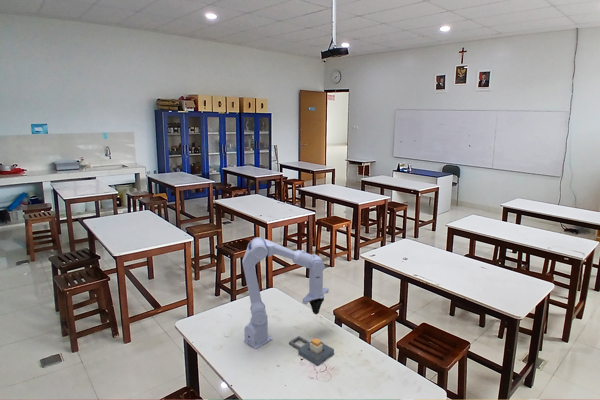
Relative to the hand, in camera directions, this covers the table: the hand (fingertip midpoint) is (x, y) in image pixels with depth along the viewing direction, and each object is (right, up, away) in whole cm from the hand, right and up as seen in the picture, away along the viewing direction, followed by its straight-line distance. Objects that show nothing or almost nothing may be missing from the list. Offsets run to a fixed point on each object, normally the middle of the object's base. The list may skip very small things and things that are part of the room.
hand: (315, 313), depth 165 cm
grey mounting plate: (-7, -11, -6) cm, 15 cm away
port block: (0, -13, -12) cm, 18 cm away
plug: (0, -13, -12) cm, 18 cm away
